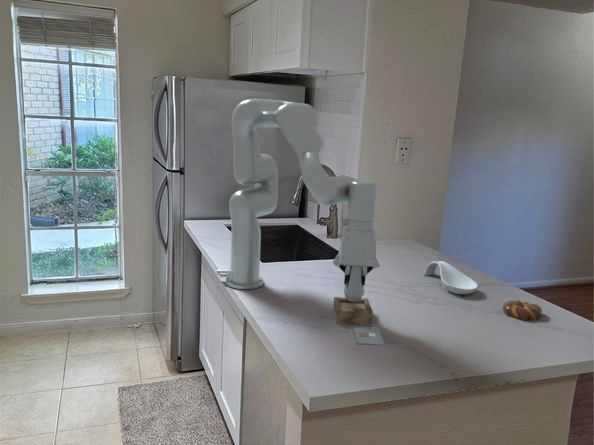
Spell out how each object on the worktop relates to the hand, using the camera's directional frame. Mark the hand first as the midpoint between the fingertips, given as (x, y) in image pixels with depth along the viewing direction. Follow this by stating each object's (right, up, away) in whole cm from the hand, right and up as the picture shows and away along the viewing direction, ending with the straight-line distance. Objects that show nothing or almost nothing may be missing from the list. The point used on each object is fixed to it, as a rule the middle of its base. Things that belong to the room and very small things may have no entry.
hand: (354, 286), depth 148 cm
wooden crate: (0, -9, +2) cm, 9 cm away
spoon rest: (+36, -4, +34) cm, 50 cm away
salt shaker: (0, -4, +1) cm, 4 cm away
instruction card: (+3, -12, -9) cm, 15 cm away
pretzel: (+53, -10, +12) cm, 55 cm away
